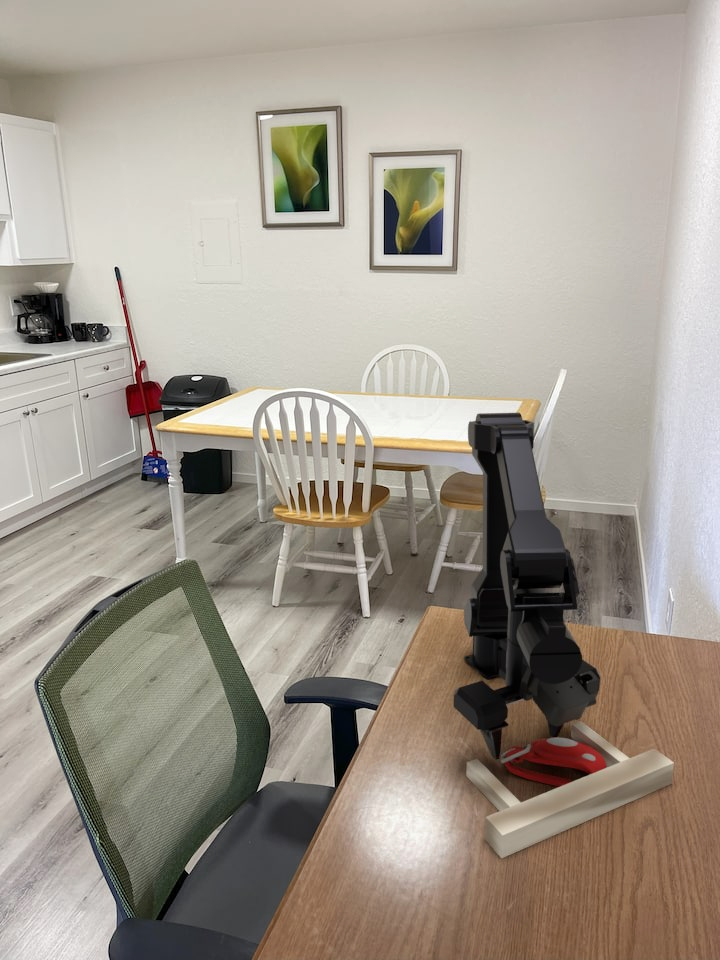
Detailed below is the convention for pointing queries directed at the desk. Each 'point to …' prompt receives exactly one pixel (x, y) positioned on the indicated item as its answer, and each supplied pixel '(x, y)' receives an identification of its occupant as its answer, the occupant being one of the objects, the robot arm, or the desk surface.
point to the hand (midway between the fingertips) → (524, 747)
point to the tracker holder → (554, 758)
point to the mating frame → (568, 794)
